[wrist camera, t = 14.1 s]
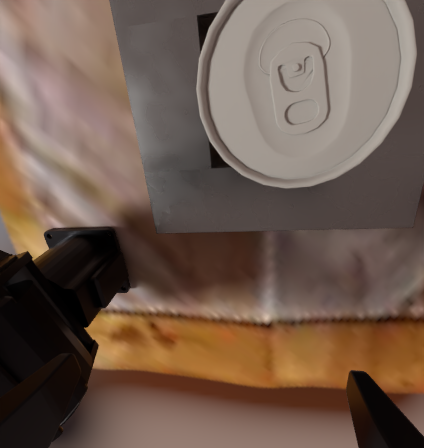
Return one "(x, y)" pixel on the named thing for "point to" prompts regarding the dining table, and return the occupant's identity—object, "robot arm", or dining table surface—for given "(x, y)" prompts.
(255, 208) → the block
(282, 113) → the beverage can
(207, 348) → the dining table surface
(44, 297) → the robot arm
